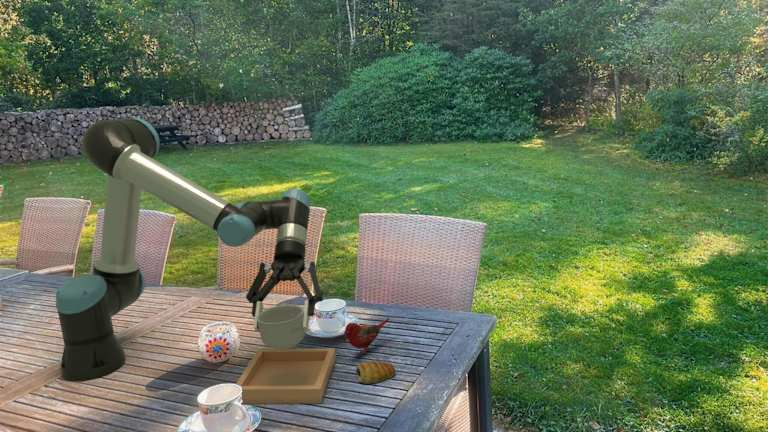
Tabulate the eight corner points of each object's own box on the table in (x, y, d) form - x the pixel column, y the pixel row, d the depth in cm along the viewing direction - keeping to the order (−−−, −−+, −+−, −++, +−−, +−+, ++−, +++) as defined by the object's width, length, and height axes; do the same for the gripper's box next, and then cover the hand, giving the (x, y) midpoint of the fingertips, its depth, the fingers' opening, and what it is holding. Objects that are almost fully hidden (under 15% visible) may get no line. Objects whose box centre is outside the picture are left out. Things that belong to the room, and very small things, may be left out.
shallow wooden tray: (233, 403, 128) (232, 389, 127) (259, 361, 147) (258, 349, 147) (321, 403, 126) (320, 389, 125) (335, 360, 146) (334, 348, 145)
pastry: (390, 367, 141) (389, 353, 141) (399, 380, 135) (398, 365, 134) (354, 374, 139) (353, 360, 138) (361, 387, 133) (360, 372, 132)
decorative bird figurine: (341, 361, 145) (339, 325, 143) (386, 337, 158) (384, 303, 156) (350, 364, 143) (347, 327, 141) (394, 339, 156) (392, 305, 154)
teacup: (300, 355, 127) (296, 321, 125) (253, 354, 128) (249, 321, 126) (314, 329, 140) (312, 298, 138) (272, 329, 142) (269, 298, 140)
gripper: (339, 251, 145) (333, 334, 133) (250, 254, 147) (236, 335, 135) (334, 236, 138) (327, 322, 127) (241, 239, 140) (226, 324, 129)
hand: (280, 329), depth 131 cm, fingers closed on teacup, 11 cm apart
